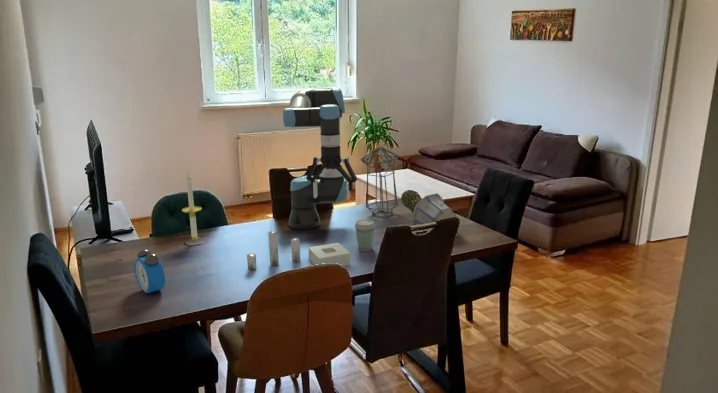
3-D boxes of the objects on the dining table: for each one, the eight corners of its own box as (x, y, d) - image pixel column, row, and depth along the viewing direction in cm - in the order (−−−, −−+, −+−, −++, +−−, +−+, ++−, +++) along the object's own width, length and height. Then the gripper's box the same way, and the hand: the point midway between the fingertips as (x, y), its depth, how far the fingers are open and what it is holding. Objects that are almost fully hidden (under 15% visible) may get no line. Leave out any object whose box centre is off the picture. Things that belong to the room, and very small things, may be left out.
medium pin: (291, 261, 229) (289, 238, 226) (299, 259, 230) (298, 237, 227) (293, 263, 226) (292, 241, 223) (301, 262, 227) (300, 240, 224)
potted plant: (464, 202, 254) (421, 175, 275) (434, 211, 244) (392, 182, 266) (457, 235, 262) (416, 206, 283) (428, 245, 253) (388, 214, 274)
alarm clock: (136, 288, 206) (131, 249, 202) (152, 283, 210) (148, 245, 206) (151, 299, 196) (146, 259, 192) (168, 294, 200) (163, 254, 196)
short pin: (247, 268, 222) (246, 254, 220) (255, 267, 223) (254, 252, 221) (249, 271, 219) (247, 257, 217) (257, 270, 220) (256, 255, 218)
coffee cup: (373, 253, 236) (373, 225, 232) (353, 251, 237) (352, 224, 234) (376, 245, 244) (376, 219, 240) (357, 244, 245) (356, 218, 242)
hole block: (308, 259, 230) (308, 247, 229) (338, 253, 235) (338, 242, 234) (319, 270, 219) (319, 258, 217) (350, 264, 224) (350, 253, 222)
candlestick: (178, 244, 249) (170, 172, 240) (193, 237, 258) (186, 167, 249) (197, 247, 246) (190, 174, 237) (211, 239, 254) (204, 169, 246)
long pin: (269, 264, 225) (267, 231, 221) (277, 263, 226) (275, 230, 223) (271, 267, 222) (269, 234, 218) (279, 266, 223) (278, 232, 220)
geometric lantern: (387, 221, 276) (385, 151, 267) (360, 216, 285) (357, 148, 275) (403, 212, 289) (401, 145, 280) (377, 208, 298) (374, 143, 288)
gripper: (296, 146, 217) (299, 198, 223) (359, 148, 212) (360, 202, 217) (303, 142, 224) (305, 194, 230) (364, 144, 219) (364, 197, 224)
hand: (332, 198), depth 224 cm, fingers open, 13 cm apart
